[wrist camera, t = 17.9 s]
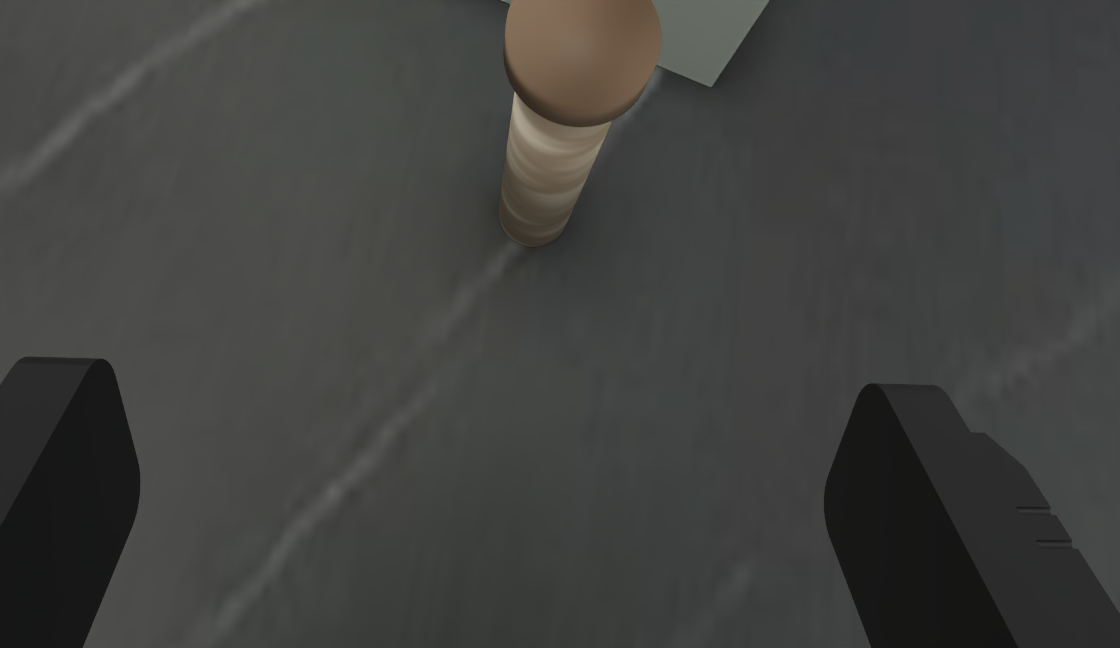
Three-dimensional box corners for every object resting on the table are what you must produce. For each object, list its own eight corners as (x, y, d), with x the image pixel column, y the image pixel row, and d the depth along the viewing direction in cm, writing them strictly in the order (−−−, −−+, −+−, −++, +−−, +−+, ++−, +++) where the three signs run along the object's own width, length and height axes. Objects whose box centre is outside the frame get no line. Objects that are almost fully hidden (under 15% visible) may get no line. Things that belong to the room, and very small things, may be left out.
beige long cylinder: (474, 236, 44) (481, 71, 25) (507, 155, 44) (540, -65, 26) (558, 270, 44) (630, 131, 25) (591, 189, 45) (683, -4, 26)
